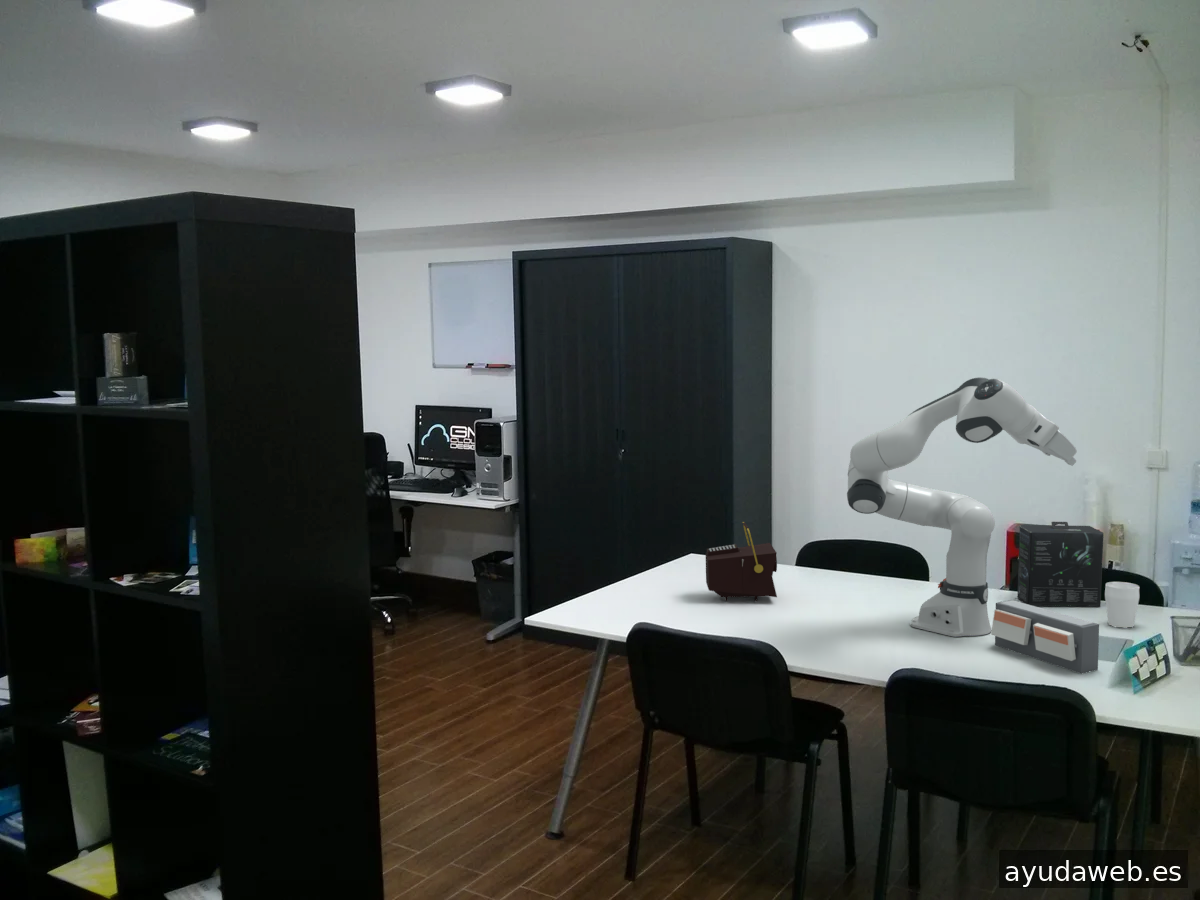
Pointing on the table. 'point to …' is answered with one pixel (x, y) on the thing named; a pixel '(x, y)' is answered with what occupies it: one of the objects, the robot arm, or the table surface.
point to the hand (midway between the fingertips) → (1061, 458)
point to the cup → (1121, 603)
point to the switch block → (1081, 629)
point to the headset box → (1060, 565)
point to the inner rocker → (1011, 627)
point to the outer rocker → (1054, 641)
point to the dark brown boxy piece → (741, 570)
